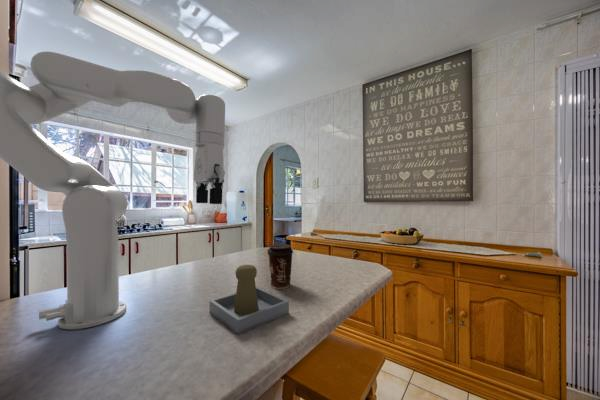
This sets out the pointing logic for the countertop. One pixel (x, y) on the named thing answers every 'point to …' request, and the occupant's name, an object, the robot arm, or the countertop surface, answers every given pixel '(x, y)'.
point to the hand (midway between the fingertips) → (208, 203)
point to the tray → (267, 311)
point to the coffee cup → (280, 265)
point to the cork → (246, 290)
